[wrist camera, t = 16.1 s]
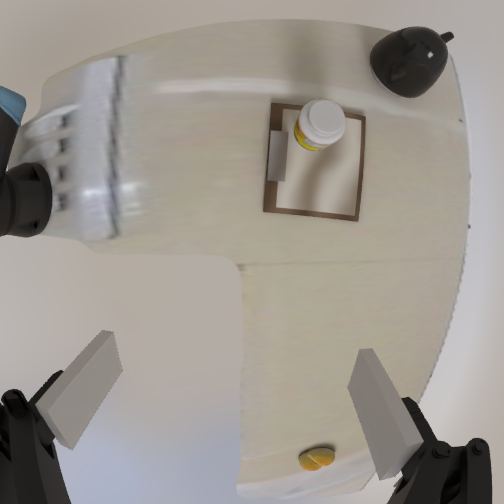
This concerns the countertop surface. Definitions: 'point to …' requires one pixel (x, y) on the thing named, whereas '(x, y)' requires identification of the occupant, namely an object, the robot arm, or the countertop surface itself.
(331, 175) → the clipboard
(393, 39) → the pump dispenser
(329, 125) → the supplement bottle
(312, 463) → the bread roll
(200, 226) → the countertop surface
